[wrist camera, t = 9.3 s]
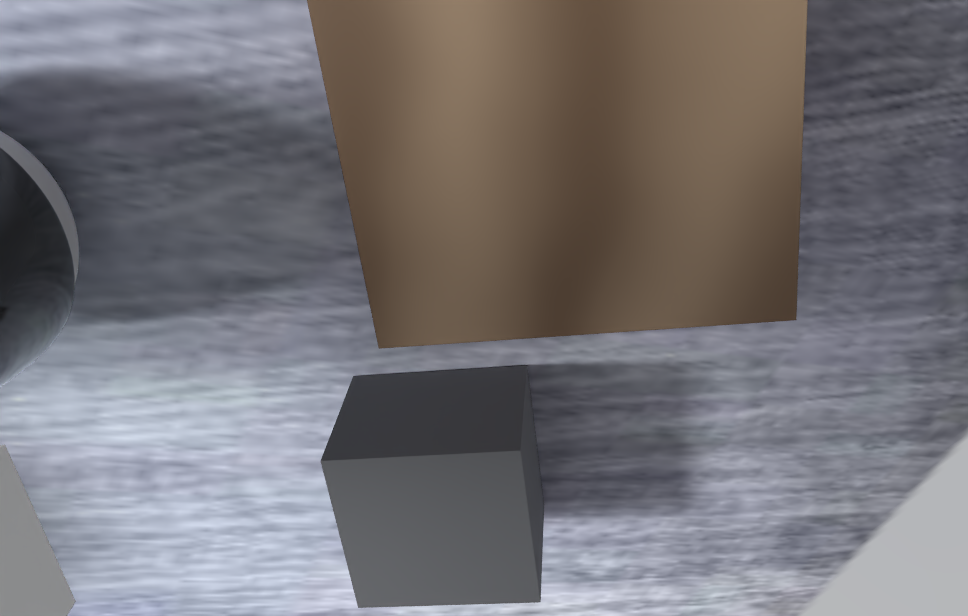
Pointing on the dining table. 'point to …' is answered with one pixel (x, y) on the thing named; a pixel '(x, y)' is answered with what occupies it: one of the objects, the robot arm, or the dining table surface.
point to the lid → (568, 162)
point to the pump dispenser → (32, 259)
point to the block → (438, 488)
